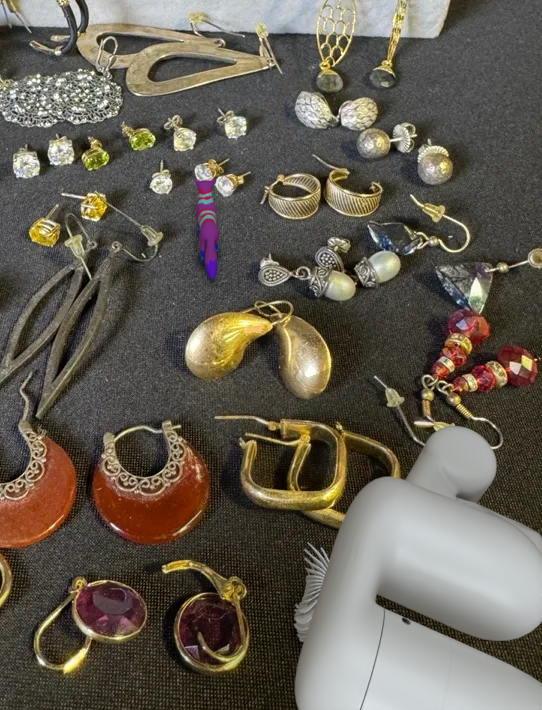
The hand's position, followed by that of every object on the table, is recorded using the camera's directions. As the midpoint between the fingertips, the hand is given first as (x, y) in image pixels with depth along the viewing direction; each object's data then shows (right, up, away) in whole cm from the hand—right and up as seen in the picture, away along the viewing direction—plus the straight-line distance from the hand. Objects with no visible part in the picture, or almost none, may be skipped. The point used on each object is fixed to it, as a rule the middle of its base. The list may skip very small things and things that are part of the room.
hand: (398, 556), depth 108 cm
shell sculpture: (-12, -7, -5) cm, 14 cm away
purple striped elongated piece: (-24, +41, +36) cm, 60 cm away
